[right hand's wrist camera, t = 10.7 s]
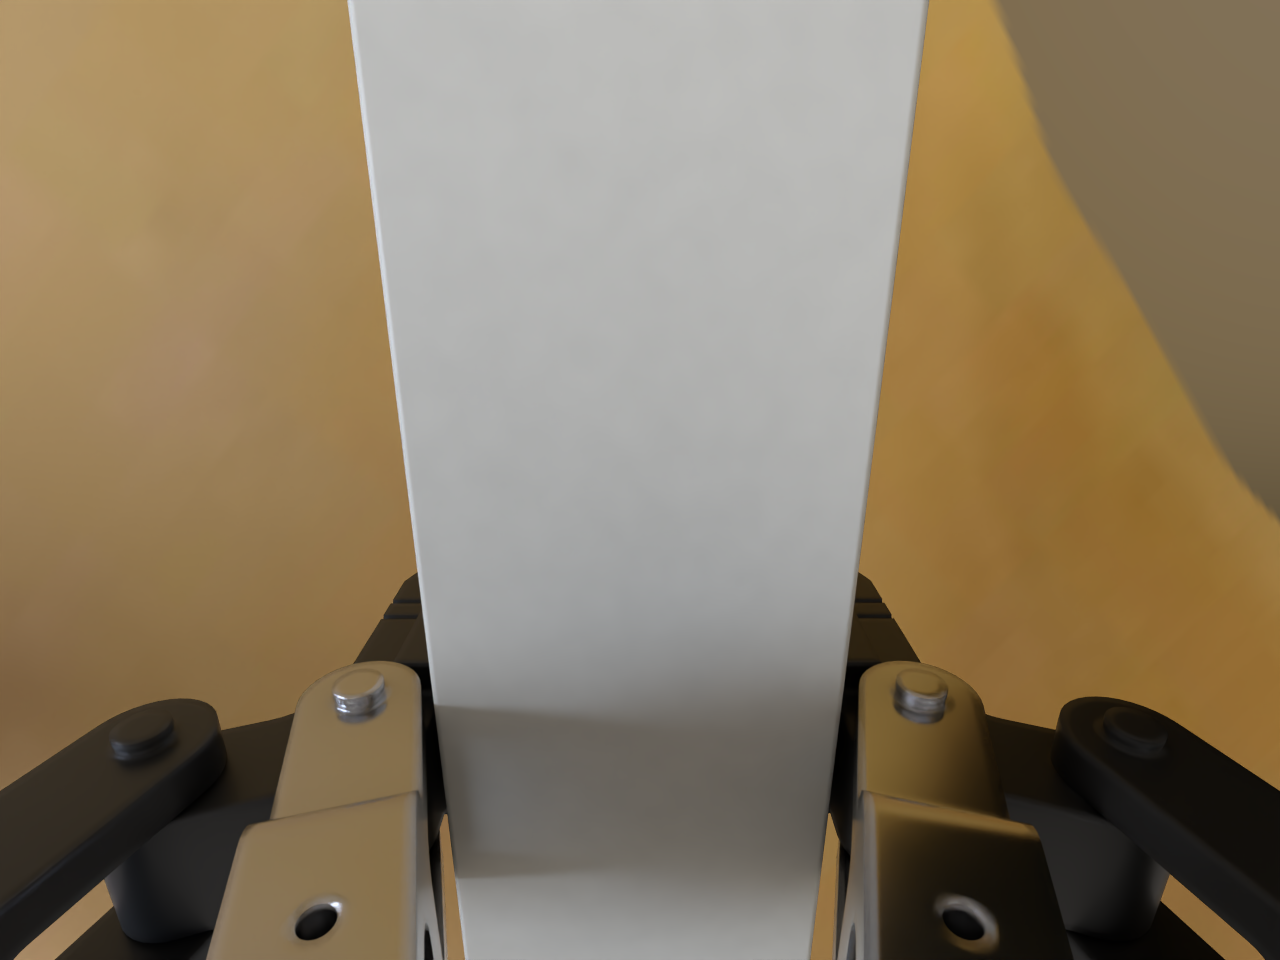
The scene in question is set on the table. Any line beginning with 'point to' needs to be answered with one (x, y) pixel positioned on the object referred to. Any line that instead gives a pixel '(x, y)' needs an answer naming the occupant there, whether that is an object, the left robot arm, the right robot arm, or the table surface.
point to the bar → (638, 439)
